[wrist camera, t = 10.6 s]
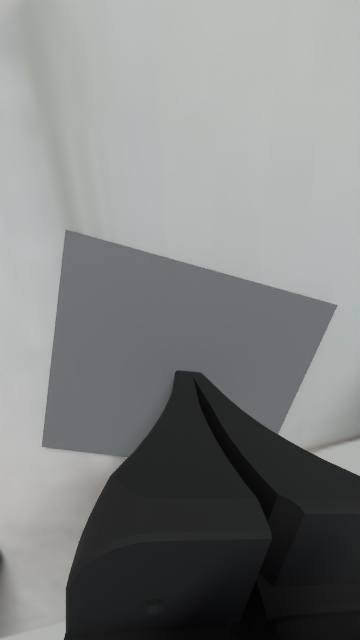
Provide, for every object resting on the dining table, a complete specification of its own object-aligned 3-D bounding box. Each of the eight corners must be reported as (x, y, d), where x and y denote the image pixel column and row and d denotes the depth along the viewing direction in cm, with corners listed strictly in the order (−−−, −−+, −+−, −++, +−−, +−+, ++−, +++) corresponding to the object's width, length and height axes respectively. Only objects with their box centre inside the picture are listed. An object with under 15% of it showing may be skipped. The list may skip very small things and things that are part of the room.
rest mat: (331, 303, 11) (337, 305, 10) (257, 466, 14) (259, 472, 13) (69, 231, 9) (65, 229, 8) (45, 440, 12) (41, 446, 11)
